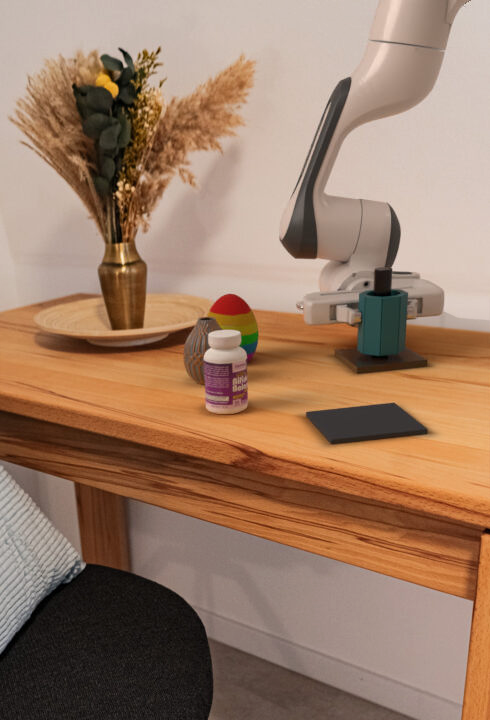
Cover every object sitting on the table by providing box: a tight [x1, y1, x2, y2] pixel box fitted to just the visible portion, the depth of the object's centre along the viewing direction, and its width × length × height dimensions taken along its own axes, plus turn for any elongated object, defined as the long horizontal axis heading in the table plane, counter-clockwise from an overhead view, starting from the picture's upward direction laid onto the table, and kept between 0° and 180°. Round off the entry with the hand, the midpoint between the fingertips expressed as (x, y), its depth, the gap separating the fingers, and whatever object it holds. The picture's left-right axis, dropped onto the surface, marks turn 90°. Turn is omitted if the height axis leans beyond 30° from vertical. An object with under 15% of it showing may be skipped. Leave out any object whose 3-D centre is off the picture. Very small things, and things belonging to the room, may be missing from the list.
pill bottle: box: [204, 330, 249, 415], centre depth 104 cm, size 5×5×10 cm
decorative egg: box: [206, 293, 259, 363], centre depth 124 cm, size 8×8×10 cm
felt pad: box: [305, 402, 429, 445], centre depth 97 cm, size 11×10×1 cm
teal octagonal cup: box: [356, 289, 408, 356], centre depth 118 cm, size 6×6×8 cm
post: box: [334, 267, 428, 375], centre depth 118 cm, size 10×10×13 cm
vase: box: [182, 316, 222, 385], centre depth 116 cm, size 7×7×9 cm
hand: (384, 316), depth 117 cm, fingers closed on teal octagonal cup, 6 cm apart
